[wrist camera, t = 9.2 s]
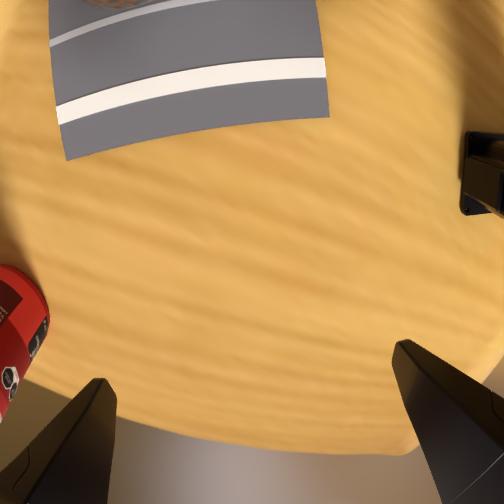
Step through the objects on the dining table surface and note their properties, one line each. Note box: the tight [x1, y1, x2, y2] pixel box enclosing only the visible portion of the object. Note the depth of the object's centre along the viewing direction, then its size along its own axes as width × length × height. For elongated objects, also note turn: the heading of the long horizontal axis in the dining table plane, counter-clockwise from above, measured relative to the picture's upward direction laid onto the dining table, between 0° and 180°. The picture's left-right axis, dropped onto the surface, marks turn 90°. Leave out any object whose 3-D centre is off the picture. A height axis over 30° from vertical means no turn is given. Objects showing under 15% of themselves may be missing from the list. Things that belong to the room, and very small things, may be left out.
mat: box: [49, 0, 330, 161], centre depth 13 cm, size 16×16×1 cm
